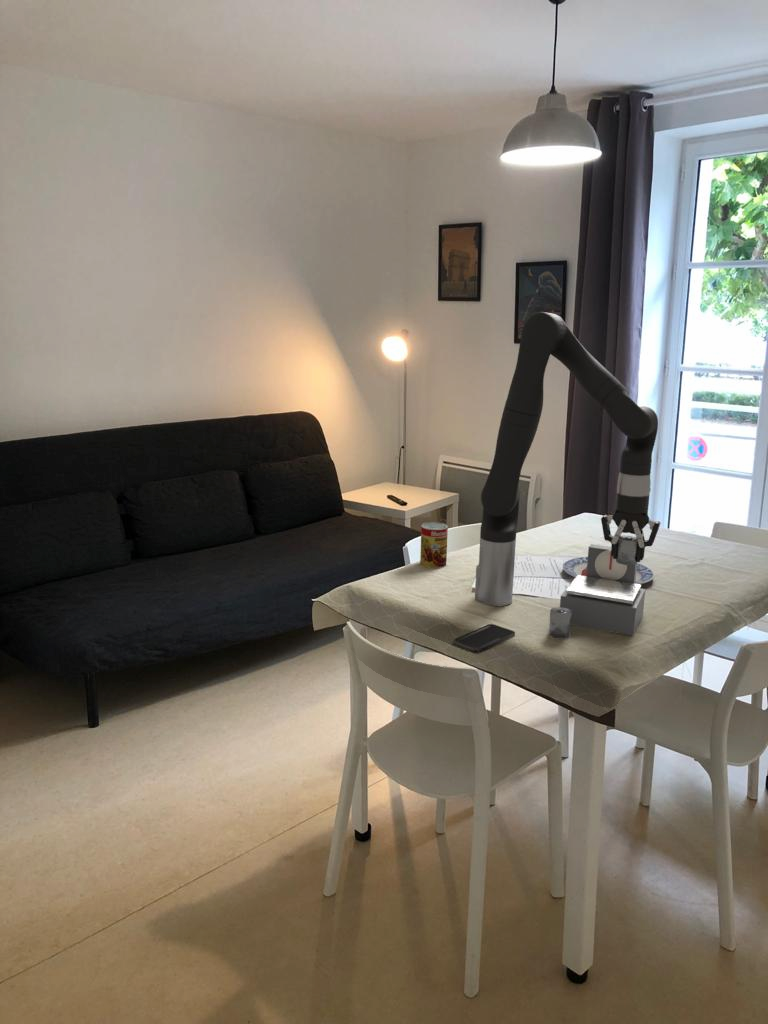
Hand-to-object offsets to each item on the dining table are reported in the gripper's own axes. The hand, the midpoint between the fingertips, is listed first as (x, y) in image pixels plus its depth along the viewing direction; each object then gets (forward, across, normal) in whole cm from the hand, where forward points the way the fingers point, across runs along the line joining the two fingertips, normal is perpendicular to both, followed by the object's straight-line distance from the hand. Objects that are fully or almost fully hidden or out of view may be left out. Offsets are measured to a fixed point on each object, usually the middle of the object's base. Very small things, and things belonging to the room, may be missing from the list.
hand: (627, 559), depth 201 cm
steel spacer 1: (+17, -12, -14) cm, 25 cm away
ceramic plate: (+17, -10, +36) cm, 41 cm away
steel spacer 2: (+1, 0, 0) cm, 1 cm away
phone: (+17, -27, -25) cm, 41 cm away
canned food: (+17, -59, +22) cm, 65 cm away
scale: (+17, -5, +2) cm, 18 cm away
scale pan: (+9, -5, +1) cm, 10 cm away
